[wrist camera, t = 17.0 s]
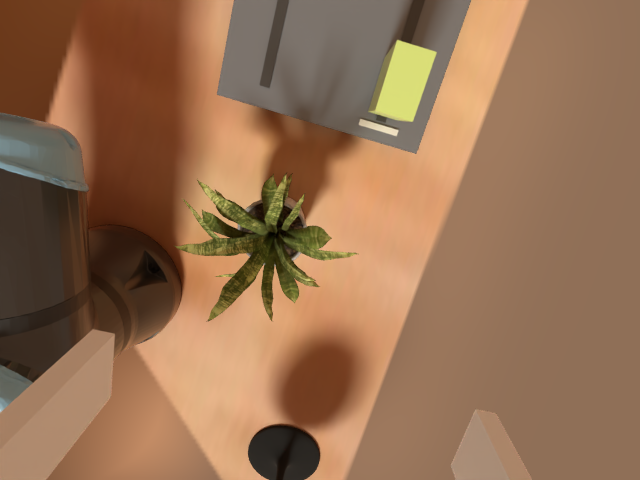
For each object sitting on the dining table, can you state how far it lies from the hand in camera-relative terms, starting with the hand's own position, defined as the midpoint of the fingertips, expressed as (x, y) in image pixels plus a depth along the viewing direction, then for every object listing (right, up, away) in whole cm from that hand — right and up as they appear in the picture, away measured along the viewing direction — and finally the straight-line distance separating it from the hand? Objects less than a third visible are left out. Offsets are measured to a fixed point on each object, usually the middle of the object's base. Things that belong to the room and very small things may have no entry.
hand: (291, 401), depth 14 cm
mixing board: (+4, +29, +23) cm, 37 cm away
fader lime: (+8, +20, +23) cm, 32 cm away
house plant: (-2, +9, +30) cm, 32 cm away
